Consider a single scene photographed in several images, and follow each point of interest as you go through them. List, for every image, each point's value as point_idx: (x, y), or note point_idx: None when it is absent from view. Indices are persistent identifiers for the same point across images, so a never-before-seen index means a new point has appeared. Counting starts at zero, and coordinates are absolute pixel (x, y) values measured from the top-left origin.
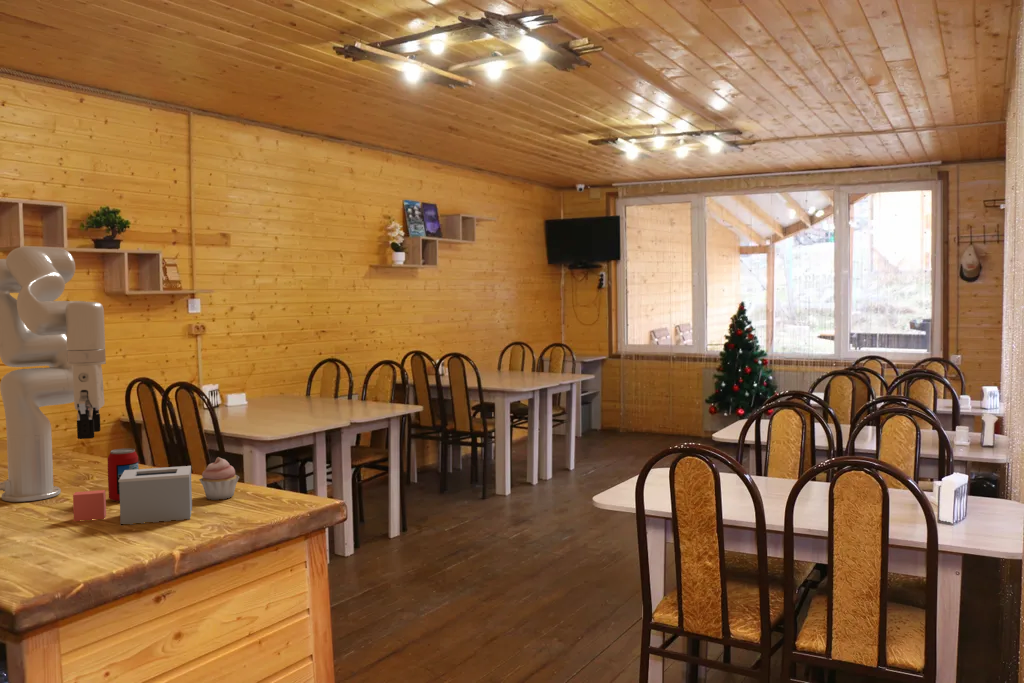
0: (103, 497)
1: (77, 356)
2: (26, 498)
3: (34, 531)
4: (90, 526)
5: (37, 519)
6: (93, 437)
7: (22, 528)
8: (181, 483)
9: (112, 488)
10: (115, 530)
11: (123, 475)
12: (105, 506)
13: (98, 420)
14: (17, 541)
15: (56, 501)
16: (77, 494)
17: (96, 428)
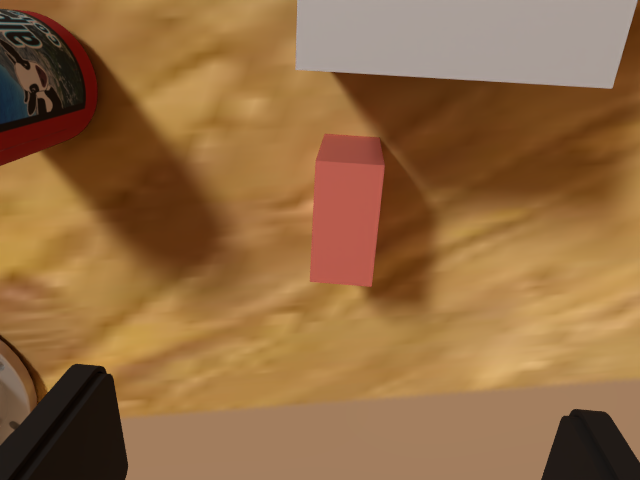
0: (383, 160)
1: None
2: (29, 393)
3: (440, 336)
4: (467, 179)
5: (282, 341)
6: (602, 413)
7: (383, 368)
8: None
9: (63, 133)
10: None
11: (486, 67)
12: (331, 143)
13: (37, 476)
14: (542, 367)
15: (40, 309)
16: (365, 271)
17: (97, 414)
